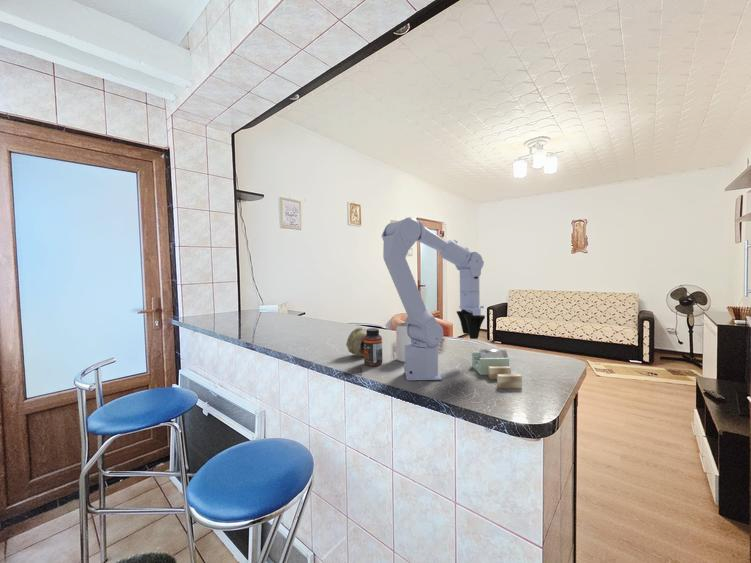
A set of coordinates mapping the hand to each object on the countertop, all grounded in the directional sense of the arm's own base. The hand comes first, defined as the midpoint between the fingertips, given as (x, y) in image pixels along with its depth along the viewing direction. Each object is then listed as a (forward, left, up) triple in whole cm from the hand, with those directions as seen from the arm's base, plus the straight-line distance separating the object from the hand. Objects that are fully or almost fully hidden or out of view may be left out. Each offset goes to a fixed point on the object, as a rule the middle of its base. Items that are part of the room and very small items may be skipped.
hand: (470, 335), depth 93 cm
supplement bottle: (-30, +4, -10) cm, 32 cm away
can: (-19, +8, -10) cm, 23 cm away
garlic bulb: (-35, +14, -10) cm, 39 cm away
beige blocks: (+5, -14, -9) cm, 18 cm away
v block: (+5, -4, -9) cm, 11 cm away
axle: (+5, -4, -7) cm, 10 cm away
